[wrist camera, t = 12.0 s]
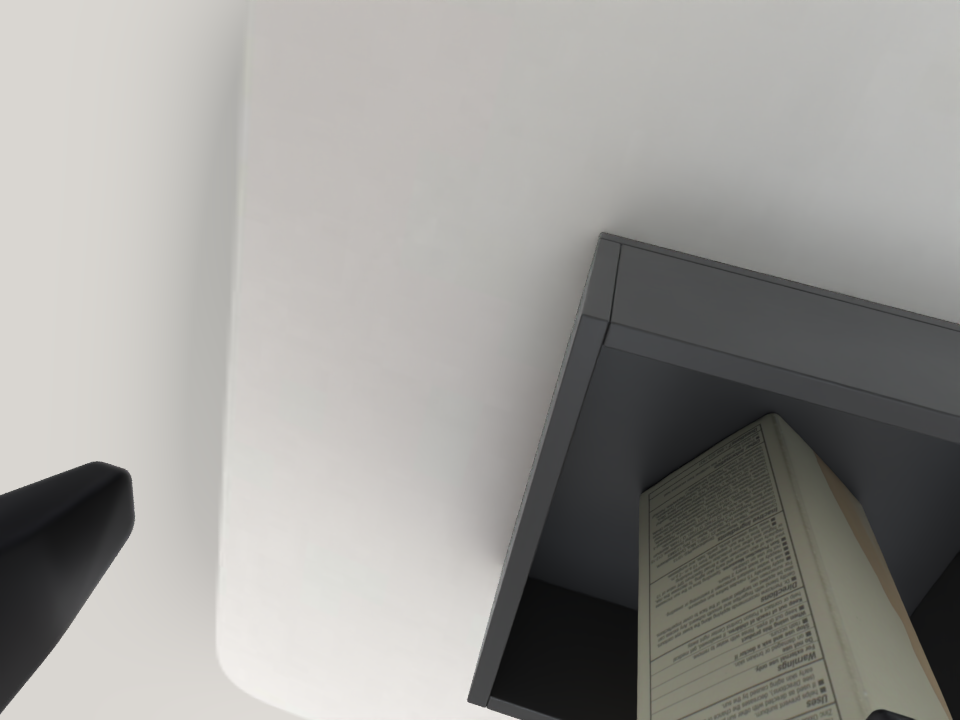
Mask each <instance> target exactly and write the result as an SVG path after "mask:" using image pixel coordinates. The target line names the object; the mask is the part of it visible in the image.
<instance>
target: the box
mask: <svg viewBox="0 0 960 720" xmlns="http://www.w3.org/2000/svg"><path fill="white" fill-rule="evenodd" d="M878 709H885V710H888V711H892V712H895V713H898V714H901V715H904V716H907V717H910V718H913V719H915V720H953V719H952V717H951V714H950V712H949V709H948V707H947V705H946V702H945V700H944V697H943V695H942V692H941V690H940V688H939V686H938V683H937V681H936V679H935V676H934V674H933V672H932V670H931V667H930V665H929V663H928V660H927V658H926V656H925V653H924V651H923V649H922V646H921V644H920V642H919V640H918V637H917V635H916V632H915V630H914V628H913V626H912V623H911V621H910V619H909V616H908V614H907V612H906V609H905V607H904V604H903V602H902V600H901V597H900V595H899V593H898V590H897V588H896V586H895V583H894V581H893V578H892V576H891V574H890V571H889V569H888V566H887V564H886V562H885V559H884V557H883V554H882V552H881V549H880V547H879V545H878V543H877V540H876V538H875V535H874V533H873V531H872V529H871V526H870V524H869V521H868V519H867V517H866V514H865V512H864V510H863V508H862V505H861V504H860V503H859V501H858V500H857V499H856V498H855V497H854V496H853V494H852V493H851V492H850V491H849V490H848V489H847V487H846V486H845V485H844V484H843V483H842V482H841V480H840V479H839V478H838V477H837V476H836V475H835V474H834V473H833V471H832V470H831V469H830V468H829V467H828V466H827V465H826V464H825V463H824V462H823V460H822V459H821V458H820V457H819V456H818V455H817V454H816V453H815V452H814V451H813V450H812V449H811V448H810V447H809V446H808V444H807V443H806V442H805V441H804V440H803V439H802V438H801V437H800V436H799V435H798V434H797V433H796V432H795V431H794V430H793V429H792V428H791V427H790V426H789V425H788V424H787V423H786V422H785V421H784V420H783V419H782V418H781V417H780V416H779V415H778V414H776V413H770V414H767V415H765V416H763V417H761V418H760V419H758V420H756V421H755V422H753V423H751V424H749V425H748V426H746V427H744V428H742V429H741V430H739V431H737V432H736V433H734V434H732V435H731V436H729V437H727V438H726V439H724V440H723V441H721V442H719V443H718V444H716V445H715V446H713V447H712V448H710V449H709V450H707V451H706V452H704V453H703V454H701V455H700V456H698V457H697V458H695V459H693V460H692V461H690V462H689V463H687V464H685V465H684V466H682V467H681V468H679V469H678V470H676V471H674V472H673V473H671V474H670V475H668V476H667V477H666V478H664V479H663V480H661V481H660V482H659V483H657V484H656V485H654V486H653V487H651V488H649V489H648V490H646V491H645V492H644V493H642V494H641V495H640V503H639V595H638V680H637V720H866V718H867V717H868V716H869V715H870V714H871V713H872V712H873V711H875V710H878Z"/></svg>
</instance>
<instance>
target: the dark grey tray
mask: <svg viewBox="0 0 960 720" xmlns="http://www.w3.org/2000/svg"><path fill="white" fill-rule="evenodd" d="M770 413H776V414H778V415H779V416H780V417H781V418H782V419H783V420H784V421H785V422H786V423H787V424H788V425H789V426H790V427H791V428H792V429H793V430H794V431H795V432H796V433H797V434H798V435H799V436H800V437H801V438H802V439H803V440H804V441H805V442H806V443H807V444H808V446H809V447H810V448H811V449H812V450H813V451H814V452H815V453H816V454H817V455H818V456H819V457H820V458H821V459H822V460H823V462H824V463H825V464H826V465H827V466H828V467H829V468H830V469H831V470H832V471H833V473H834V474H835V475H836V476H837V477H838V478H839V479H840V480H841V482H842V483H843V484H844V485H845V486H846V487H847V489H848V490H849V491H850V492H851V493H852V494H853V496H854V497H855V498H856V499H857V500H858V501H859V503H860V504H861V505H862V508H863V510H864V512H865V514H866V517H867V519H868V521H869V524H870V526H871V529H872V531H873V533H874V535H875V538H876V540H877V543H878V545H879V547H880V549H881V552H882V554H883V557H884V559H885V562H886V564H887V566H888V569H889V571H890V574H891V576H892V578H893V581H894V583H895V586H896V588H897V590H898V593H899V595H900V597H901V600H902V602H903V604H904V607H905V609H906V612H907V614H908V616H909V619H910V621H911V623H912V626H913V628H914V630H915V632H916V635H917V637H918V640H919V642H920V644H921V646H922V649H923V651H924V653H925V656H926V658H927V660H928V663H929V665H930V667H931V670H932V672H933V674H934V676H935V679H936V681H937V683H938V686H939V688H940V690H941V692H942V695H943V697H944V700H945V702H946V705H947V707H948V709H949V712H950V714H951V717H952V719H953V720H960V325H959V324H955V323H951V322H947V321H943V320H940V319H936V318H932V317H928V316H924V315H920V314H916V313H913V312H909V311H905V310H901V309H897V308H893V307H889V306H886V305H882V304H878V303H874V302H870V301H866V300H862V299H859V298H855V297H851V296H847V295H843V294H839V293H835V292H832V291H828V290H824V289H820V288H816V287H812V286H808V285H805V284H801V283H797V282H793V281H789V280H785V279H781V278H778V277H774V276H770V275H766V274H762V273H758V272H754V271H751V270H747V269H743V268H739V267H735V266H731V265H727V264H724V263H720V262H716V261H712V260H708V259H704V258H700V257H697V256H693V255H689V254H685V253H681V252H677V251H673V250H670V249H666V248H662V247H658V246H654V245H650V244H646V243H643V242H639V241H635V240H631V239H627V238H623V237H619V236H616V235H612V234H608V233H604V232H602V233H601V234H600V236H599V240H598V243H597V247H596V250H595V253H594V257H593V260H592V264H591V267H590V270H589V274H588V277H587V281H586V284H585V288H584V291H583V294H582V298H581V301H580V305H579V308H578V312H577V315H576V318H575V322H574V325H573V329H572V332H571V336H570V339H569V342H568V346H567V349H566V353H565V356H564V360H563V363H562V366H561V370H560V373H559V377H558V380H557V383H556V387H555V390H554V394H553V397H552V401H551V404H550V407H549V411H548V414H547V418H546V421H545V425H544V428H543V431H542V435H541V438H540V442H539V445H538V449H537V452H536V455H535V459H534V462H533V466H532V469H531V473H530V476H529V479H528V483H527V486H526V490H525V493H524V497H523V500H522V503H521V507H520V510H519V514H518V517H517V520H516V524H515V527H514V531H513V534H512V538H511V541H510V544H509V548H508V551H507V555H506V558H505V562H504V565H503V568H502V572H501V576H500V580H499V583H498V587H497V591H496V594H495V598H494V602H493V606H492V609H491V613H490V617H489V621H488V624H487V628H486V632H485V635H484V639H483V643H482V647H481V650H480V654H479V658H478V661H477V665H476V669H475V673H474V676H473V680H472V684H471V687H470V691H469V695H468V699H467V702H469V703H472V704H475V705H478V706H481V707H486V706H487V708H488V709H490V710H493V711H496V712H499V713H502V714H505V715H508V716H511V717H514V718H517V719H520V720H637V680H638V595H639V503H640V495H641V494H642V493H644V492H645V491H646V490H648V489H649V488H651V487H653V486H654V485H656V484H657V483H659V482H660V481H661V480H663V479H664V478H666V477H667V476H668V475H670V474H671V473H673V472H674V471H676V470H678V469H679V468H681V467H682V466H684V465H685V464H687V463H689V462H690V461H692V460H693V459H695V458H697V457H698V456H700V455H701V454H703V453H704V452H706V451H707V450H709V449H710V448H712V447H713V446H715V445H716V444H718V443H719V442H721V441H723V440H724V439H726V438H727V437H729V436H731V435H732V434H734V433H736V432H737V431H739V430H741V429H742V428H744V427H746V426H748V425H749V424H751V423H753V422H755V421H756V420H758V419H760V418H761V417H763V416H765V415H767V414H770Z"/></svg>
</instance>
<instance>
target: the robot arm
mask: <svg viewBox="0 0 960 720" xmlns="http://www.w3.org/2000/svg"><path fill="white" fill-rule="evenodd" d="M134 521H135V512H134V500H133V488H132V478H131V475H130V474H129V472H128V471H127V470H125V469H123V468H120V467H117V466H114V465H111V464H108V463H104V462H98V461H96V462H91V463H87V464H85V465H82V466H79V467H76V468H74V469H71V470H68V471H66V472H63V473H60V474H57V475H55V476H52V477H49V478H46V479H44V480H41V481H38V482H35V483H33V484H30V485H27V486H24V487H22V488H19V489H16V490H13V491H11V492H8V493H5V494H3V495H0V714H1V712H2V711H3V710H4V709H5V708H6V706H7V705H8V704H9V703H10V701H11V700H12V699H13V698H14V696H15V695H16V694H17V693H18V692H19V691H20V689H21V688H22V687H23V686H24V684H25V683H26V682H27V681H28V679H29V678H30V677H31V676H32V675H33V673H34V672H35V671H36V670H37V668H38V667H39V666H40V665H41V664H42V662H43V661H44V660H45V659H46V657H47V656H48V655H49V654H50V652H51V651H52V650H53V648H54V647H55V646H56V644H57V643H58V642H59V640H60V639H61V637H62V636H63V634H64V633H65V632H66V630H67V629H68V628H69V626H70V625H71V623H72V622H73V620H74V619H75V617H76V615H77V614H78V613H79V611H80V610H81V608H82V607H83V605H84V604H85V602H86V601H87V599H88V598H89V596H90V595H91V593H92V591H93V590H94V589H95V587H96V586H97V584H98V583H99V581H100V580H101V578H102V577H103V575H104V574H105V572H106V571H107V569H108V568H109V566H110V565H111V563H112V562H113V560H114V559H115V557H116V556H117V554H118V553H119V551H120V550H121V548H122V547H123V545H124V544H125V542H126V541H127V539H128V538H129V536H130V534H131V532H132V529H133V526H134ZM866 720H915V719H913V718H910V717H907V716H904V715H901V714H898V713H895V712H892V711H888V710H885V709H878V710H875V711H873V712H872V713H871V714H870V715H869V716H868V717H867V718H866Z"/></svg>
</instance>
